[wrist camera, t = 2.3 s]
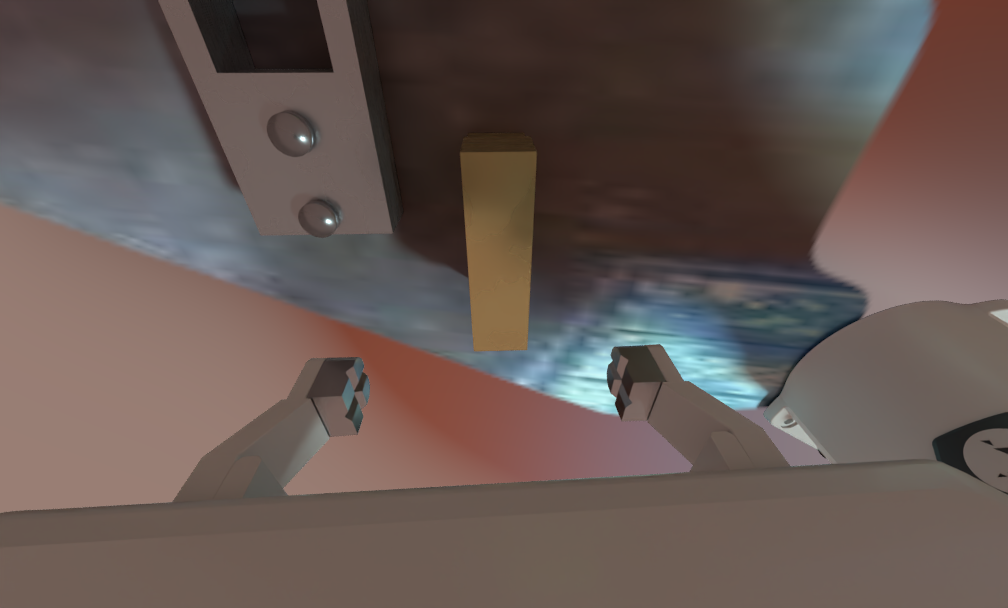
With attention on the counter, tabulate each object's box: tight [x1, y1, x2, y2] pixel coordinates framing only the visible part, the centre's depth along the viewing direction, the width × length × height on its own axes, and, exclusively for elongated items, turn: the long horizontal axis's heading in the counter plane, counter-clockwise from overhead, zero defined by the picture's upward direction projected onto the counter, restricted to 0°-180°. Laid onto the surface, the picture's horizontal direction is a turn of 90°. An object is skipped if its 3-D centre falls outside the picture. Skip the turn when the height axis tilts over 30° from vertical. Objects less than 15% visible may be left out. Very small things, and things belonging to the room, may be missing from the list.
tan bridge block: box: [460, 133, 537, 351], centre depth 20 cm, size 11×3×6 cm, turn 0°
